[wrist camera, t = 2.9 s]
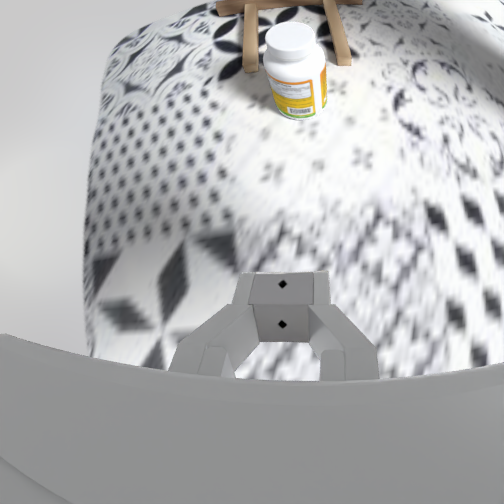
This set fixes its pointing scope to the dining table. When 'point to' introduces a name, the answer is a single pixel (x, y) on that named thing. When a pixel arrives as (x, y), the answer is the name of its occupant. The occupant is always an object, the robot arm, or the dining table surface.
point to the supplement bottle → (296, 70)
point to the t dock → (251, 3)
